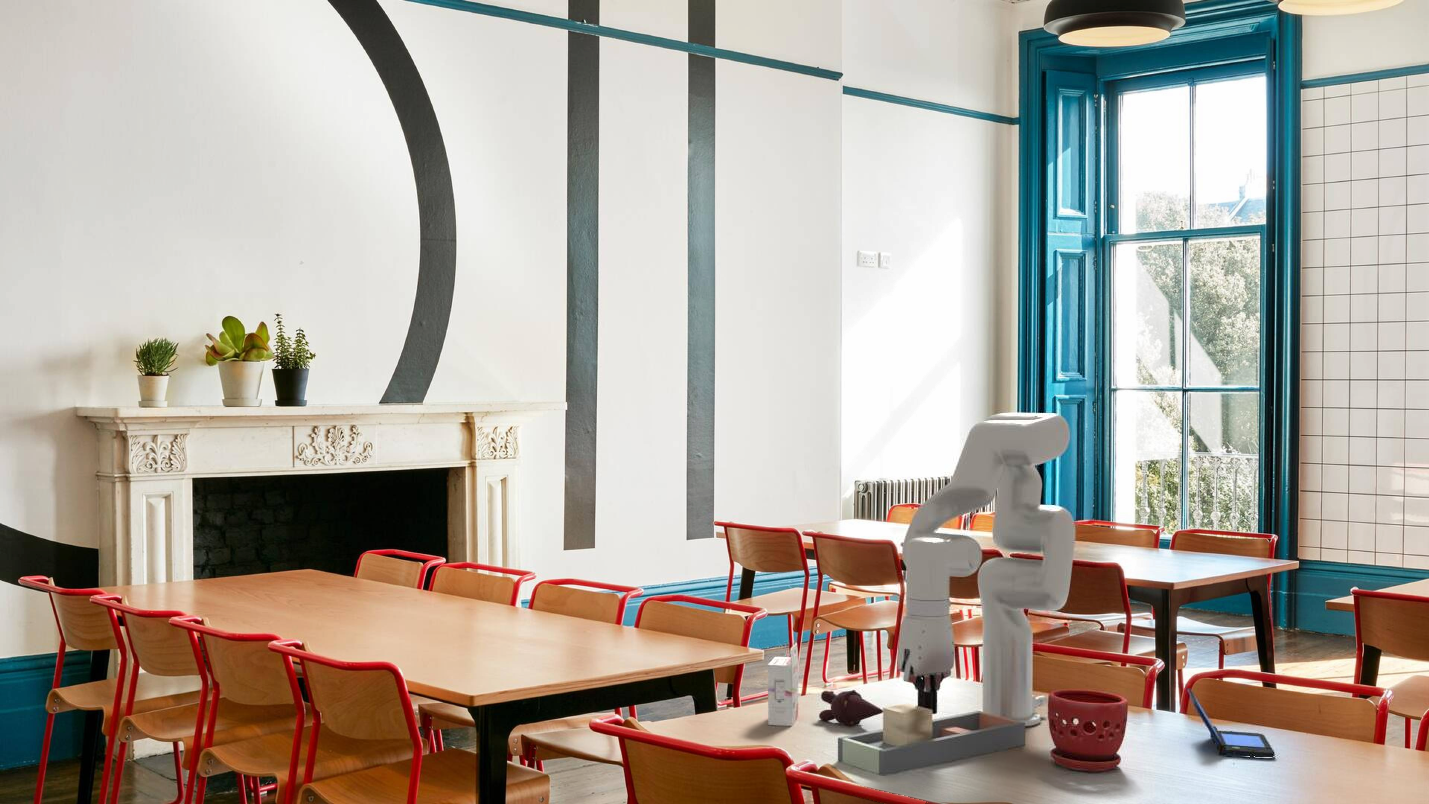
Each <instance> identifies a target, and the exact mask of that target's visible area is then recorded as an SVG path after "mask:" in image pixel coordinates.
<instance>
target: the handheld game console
mask: <svg viewBox="0 0 1429 804" xmlns="http://www.w3.org/2000/svg"><path fill="white" fill-rule="evenodd" d="M1187 693H1188V695H1189V698H1190V699H1191V702H1192V704H1193V705H1194V708H1195V710H1196V712H1197V714H1198V715H1199V716H1200V718H1201V720H1202V721H1203V723H1204V724H1205V727H1206V728H1207V729H1208V732H1209V733H1210V738H1211V739H1212V741H1213V743H1214V744H1215V743H1216V744H1215V746H1216V750H1217V754H1218V756H1220V755H1221V757H1233V756H1250V757H1254V756H1255V757H1273V756H1274V757H1275V750H1274V749H1273V748H1272V746H1271V745H1270V743H1269V741H1268V739H1267V737H1266V736H1265V735H1264V734H1263V733H1259V732H1257V733H1256V732H1245V731H1233V730H1230V731H1229V730H1218V728H1217V726H1215V725H1213V723H1212V722H1211V721H1210V719H1209V717H1208V715H1207V714H1206V712H1205V710H1204V708H1203V707H1202V706H1201V704H1200V702H1199V700H1198V699H1197V697H1196V696H1195V694H1194V692H1193V691H1192V690H1191V688H1187ZM1222 755H1223V756H1222ZM1224 755H1226V756H1224Z"/></svg>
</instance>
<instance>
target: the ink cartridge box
mask: <svg viewBox="0 0 1429 804" xmlns="http://www.w3.org/2000/svg"><path fill="white" fill-rule="evenodd" d="M789 655H790V657H789V656H786V657H785V656H774V657H773V658H772V660H771V661H769V663H767V694H768V695H767V698H768V699H767V705H768V706H767V708H768V710H767V712H768V721H767V722H768V726H780V727H781V726H782V727H792V726H793V725H794V724H795V722H796V720H797V719H798V717H799V651H798V643H797V642H795V643H794V644H793V645H792V646H791V648H790V650H789Z"/></svg>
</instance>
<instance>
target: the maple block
mask: <svg viewBox="0 0 1429 804" xmlns="http://www.w3.org/2000/svg"><path fill="white" fill-rule="evenodd" d="M882 710H883V713H882V729H883V742H884V743H887V744H890V745H894V746H901V745H906V744H911V743H916V742H921V741H926V740H931V739H932V720H933V714H932V710H931V709H927V708H923V707H919V706H918V705H915V704H912V703H905V704H899V705H898V704H897V705H891V706H886V707H882Z"/></svg>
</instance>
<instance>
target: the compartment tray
mask: <svg viewBox="0 0 1429 804" xmlns="http://www.w3.org/2000/svg"><path fill="white" fill-rule="evenodd" d="M1022 746H1026V726H1025V722H1021V721H1017V720H1012V719H1008V718H1004V717H1000V716H996V715H992V714H988V713H984V712H980V711H977V710H975V711H971V712H966V713H960V714H955V715H950V716H945V717H939V718H932V739H931V740H926V741H921V742H916V743H911V744H906V745H901V746H894V745H890V744H887V743H884V742H883V728H882V729H877V730H872V731H866V732H861V733H860V732H859V733H856V734H850V735H845V736H839V737H837V761H838V762H839V763H842V764H846V765H849V766H851V767H854V768H855V767H856V768H859V769H861V770H865V771H868V772H871V773H874V774H877V775H881V776H884V777H885V776H890V775H893V774H899V773H903V772H909V771H911V770H916V769H922V768H925V767H929V766H930V767H931V766H934V765H939V764H944V763H949V762H953V761H957V760H962V759H967V758H970V757H972V758H973V757H976V756H981V755H984V754H989V753H993V752H998V751H1003V750H1007V749H1011V748H1017V747H1022Z"/></svg>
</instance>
